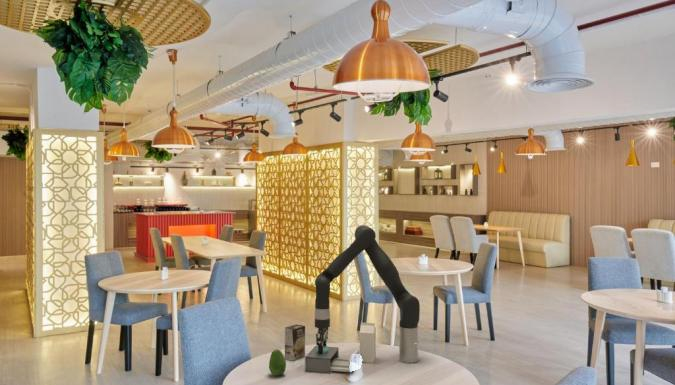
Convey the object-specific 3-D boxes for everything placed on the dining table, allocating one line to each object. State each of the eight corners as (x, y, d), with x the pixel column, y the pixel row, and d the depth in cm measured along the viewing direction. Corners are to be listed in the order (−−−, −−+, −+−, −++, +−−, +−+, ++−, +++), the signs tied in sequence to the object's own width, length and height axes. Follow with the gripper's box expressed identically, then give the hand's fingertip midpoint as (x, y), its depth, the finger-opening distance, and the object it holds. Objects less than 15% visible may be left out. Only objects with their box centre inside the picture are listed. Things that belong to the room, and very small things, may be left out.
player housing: (338, 361, 267) (338, 347, 267) (329, 373, 249) (329, 358, 249) (315, 359, 270) (315, 345, 270) (305, 371, 252) (305, 356, 252)
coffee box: (293, 361, 267) (293, 329, 266) (284, 359, 270) (284, 327, 270) (305, 356, 274) (305, 325, 274) (296, 354, 278) (296, 323, 278)
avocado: (270, 372, 251) (270, 347, 251) (286, 372, 251) (286, 347, 251) (267, 378, 243) (267, 352, 243) (284, 378, 243) (284, 352, 243)
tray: (358, 361, 264) (358, 349, 264) (351, 373, 247) (351, 360, 247) (335, 359, 267) (335, 347, 267) (326, 371, 250) (326, 358, 250)
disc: (329, 350, 262) (329, 345, 262) (326, 354, 256) (326, 349, 256) (318, 349, 263) (318, 344, 263) (314, 353, 257) (314, 348, 257)
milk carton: (373, 363, 264) (373, 325, 264) (359, 362, 266) (359, 324, 265) (375, 358, 271) (375, 321, 271) (361, 357, 273) (362, 320, 272)
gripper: (325, 321, 251) (325, 356, 252) (333, 314, 265) (333, 347, 265) (310, 320, 253) (310, 355, 253) (318, 313, 267) (318, 346, 267)
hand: (322, 351), depth 259 cm, fingers closed on disc, 6 cm apart
